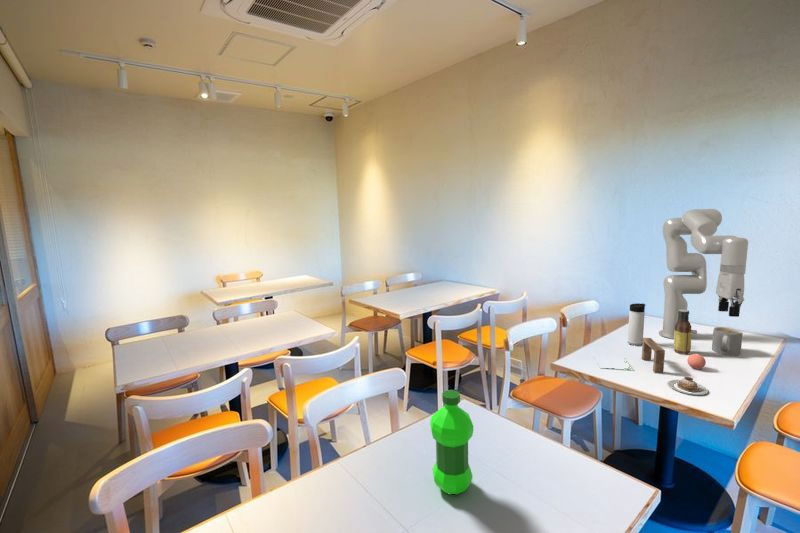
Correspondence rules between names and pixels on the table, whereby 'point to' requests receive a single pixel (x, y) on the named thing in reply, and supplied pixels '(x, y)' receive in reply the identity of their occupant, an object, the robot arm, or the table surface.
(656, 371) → the bridge
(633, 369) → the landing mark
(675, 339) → the sauce bottle
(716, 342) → the coffee mug
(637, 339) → the travel mug
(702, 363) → the ball
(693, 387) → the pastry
